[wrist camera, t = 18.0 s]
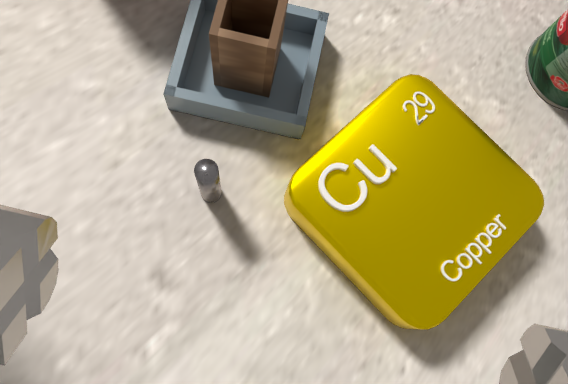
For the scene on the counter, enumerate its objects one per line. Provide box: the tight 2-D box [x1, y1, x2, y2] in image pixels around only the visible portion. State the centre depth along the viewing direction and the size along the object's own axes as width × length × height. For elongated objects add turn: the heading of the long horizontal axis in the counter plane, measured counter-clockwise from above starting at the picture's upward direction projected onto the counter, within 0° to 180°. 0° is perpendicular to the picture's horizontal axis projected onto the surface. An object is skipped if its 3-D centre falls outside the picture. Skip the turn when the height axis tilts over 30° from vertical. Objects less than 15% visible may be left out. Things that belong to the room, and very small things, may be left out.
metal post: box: [194, 159, 221, 203], centre depth 38 cm, size 2×2×6 cm
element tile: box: [284, 74, 544, 330], centre depth 40 cm, size 15×15×5 cm
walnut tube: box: [209, 0, 288, 98], centre depth 39 cm, size 5×5×8 cm
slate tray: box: [164, 0, 329, 139], centre depth 42 cm, size 11×10×3 cm
